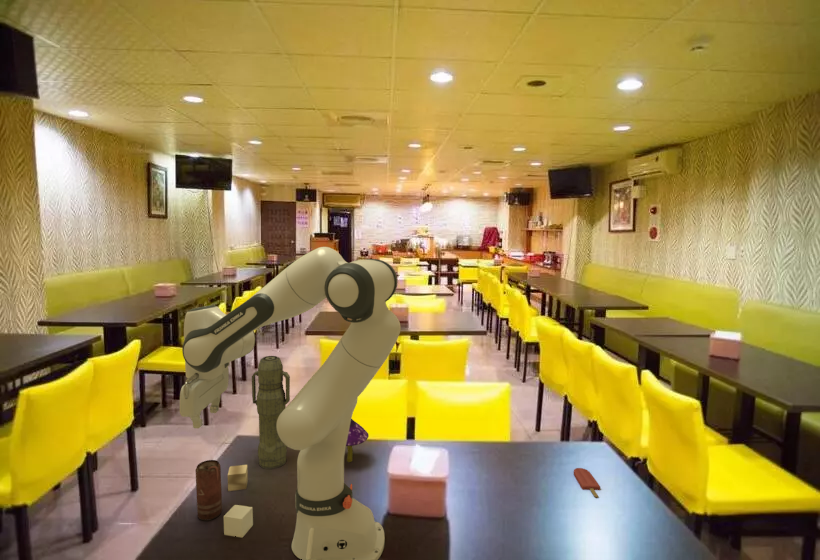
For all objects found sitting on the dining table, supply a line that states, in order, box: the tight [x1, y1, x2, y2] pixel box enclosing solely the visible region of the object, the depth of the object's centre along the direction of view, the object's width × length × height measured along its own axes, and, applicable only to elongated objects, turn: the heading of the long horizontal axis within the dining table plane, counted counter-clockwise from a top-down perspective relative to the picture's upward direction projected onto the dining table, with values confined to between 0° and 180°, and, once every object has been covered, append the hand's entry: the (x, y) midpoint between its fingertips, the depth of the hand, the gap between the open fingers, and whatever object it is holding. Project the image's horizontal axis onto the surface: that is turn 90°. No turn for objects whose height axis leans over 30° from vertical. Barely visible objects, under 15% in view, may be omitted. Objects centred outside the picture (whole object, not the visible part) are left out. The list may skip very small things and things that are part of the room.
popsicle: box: [573, 467, 601, 498], centre depth 141 cm, size 5×2×15 cm
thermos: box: [251, 355, 291, 470], centre depth 150 cm, size 9×12×35 cm
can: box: [195, 459, 223, 522], centre depth 124 cm, size 6×6×14 cm
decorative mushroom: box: [346, 418, 370, 463], centre depth 152 cm, size 12×12×15 cm
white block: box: [223, 504, 254, 539], centre depth 118 cm, size 5×5×5 cm
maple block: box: [227, 464, 249, 492], centre depth 138 cm, size 5×5×5 cm
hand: (206, 419), depth 121 cm, fingers open, 8 cm apart
